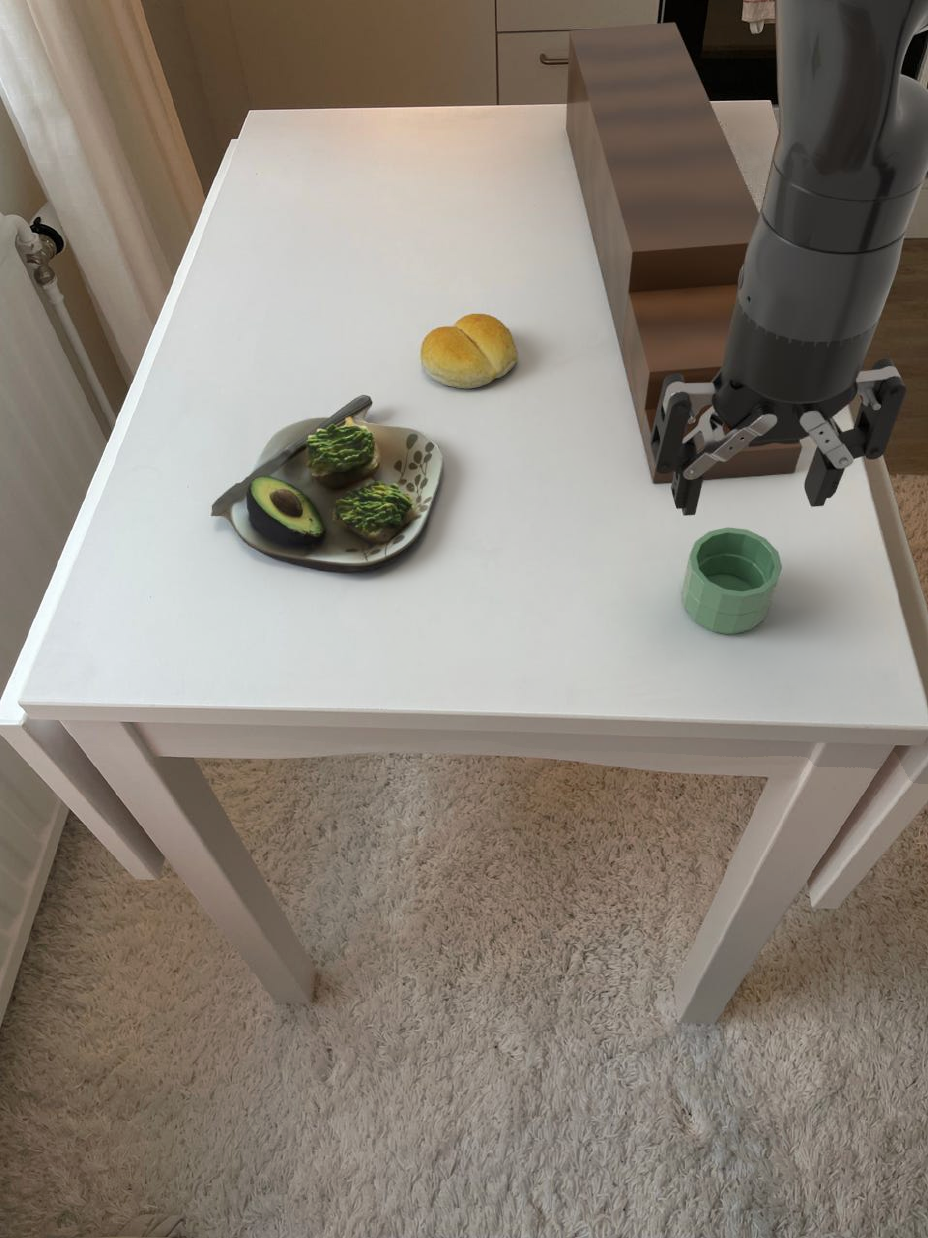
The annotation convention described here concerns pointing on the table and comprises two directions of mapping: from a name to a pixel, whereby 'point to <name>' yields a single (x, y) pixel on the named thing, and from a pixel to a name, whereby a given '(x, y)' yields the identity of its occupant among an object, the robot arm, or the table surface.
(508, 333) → the bread roll
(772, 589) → the cup
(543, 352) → the table surface
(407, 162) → the table surface
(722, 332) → the wooden stair steps
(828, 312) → the robot arm
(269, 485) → the salad plate
